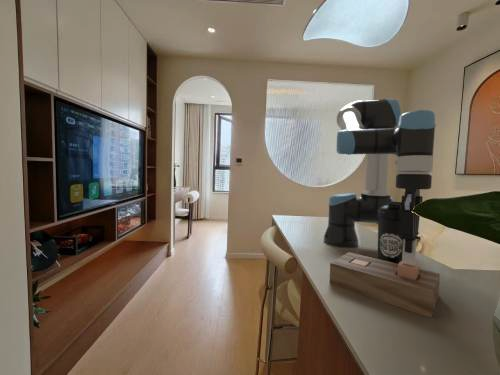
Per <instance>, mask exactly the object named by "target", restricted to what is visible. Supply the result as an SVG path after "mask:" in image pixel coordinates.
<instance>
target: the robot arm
mask: <svg viewBox="0 0 500 375" xmlns="http://www.w3.org/2000/svg"><path fill="white" fill-rule="evenodd" d="M336 124H337V126H338V127H339V128H340V130H339V131H338V132H337V135H336V153H337V154H339V155H349V156H350V155H366V166H365V167H366V168H365V185H364V186H365V187H364V189H363V191H360V192H361V194H360V196H357V194H356V193H354V192H352V193H349V192H348V193H346V192H345V193H338V194H332V195H330V196H329V199H328V200H329V201H328V218H327V219H328V221H327V226H326V227H327V228H326V230H325V232H324V235H323V242H324V243H325V242H326V243H325V244H327V243H328V245H330V246H332V247H333V246H334V247H340V248H355V247H357V246H358V245H359V238H358V234H357V231H356V226H355V225H356V222H357V223H368V224H377V225H378V216H377V211H378V210H379V209H380V208H381V207H382V206H384V205H386V204H385V203H391V202H395V198H392V197H391V193H390V192H389V191H388V189H387V188H388V177H389V176H388V174H389V173H388V172H389V161H390V160H389V158H390V155H395V156H397V160H394V165H396V172H397V174H396V175H395V187H396V189H403V190H404V195H402V196H401V201H400V202H401V209H402V235H401V236H400V239H403V252H402V263H403V264H408V265H412V266H415V264H416V259H417V257H416V256H417V242H418V240H421V236H418V235H419V234H420V233H419V228H420V217H421V215H420V216H418V215H416V214H415V213H412V212H411V211H412V210H413V208H414V207H415V206H416V205H418V204H420V203H421V204H422V203H423V196H421V190H430V189H431V188H432V180H433V179H432V178H433V176H432V175H431V174H430V173H431V172H433V167H434V146H435V145H434V143H435V133H436V131H435V130H436V114H435V112H434V111H432V110H428V109H420V110H419V109H418V110H411V111H407V112H404V113H402V110H401V106H400V103H399V101H398V100H397V99H396V98H382V99H380V98H379V99H368V100H356V101H353V102H350V103H348V104H346V105H345V106H343V107H342V108H341V109H340V110H339V111H338V113H337V116H336Z"/></svg>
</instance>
